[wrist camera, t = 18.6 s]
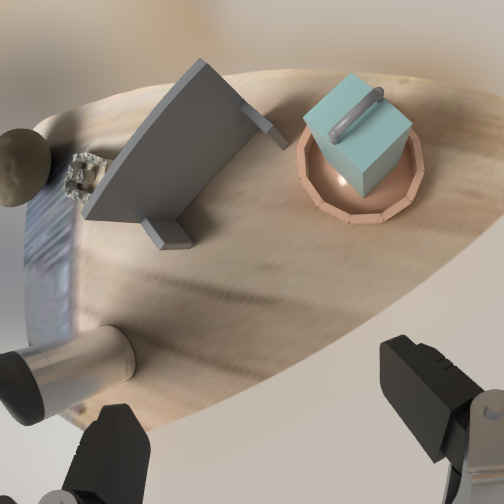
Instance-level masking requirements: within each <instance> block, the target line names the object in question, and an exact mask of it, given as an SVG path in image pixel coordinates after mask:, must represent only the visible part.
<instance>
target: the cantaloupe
mask: <svg viewBox="0 0 504 504" xmlns="http://www.w3.org/2000/svg"><path fill="white" fill-rule="evenodd" d="M50 168H51V152H50V149H49V146H48V144H47V142H46V140H45V139H44V138H43V137H42V136H41V135H40V134H39V133H37V132H35V131H33V130H30V129H13V130H10V131H8V132H6V133H4V134H2V135H1V136H0V205H2V206H5V207H16V206H19V205H22V204H24V203H27V202H28V201H30V200H31V199H33V198H34V197H35V196H36V195H37V194H38V193H39V192H40V190H41V189H42V188H43V186H44V185H45V184H46V182H47V180H48V177H49V173H50Z"/></svg>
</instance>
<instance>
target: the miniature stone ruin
mask: <svg viewBox="0 0 504 504" xmlns="http://www.w3.org/2000/svg"><path fill="white" fill-rule="evenodd" d="M113 162H114V160H111V159H103V158H100V157H97V156H96V155H93V154H90V153H81V154H74V155H73V162H72V163H71V164H69V170H68V171H67V175H66V177H65V179H64V180H65V184H64V186H63V187H62V190H61V193H62V194H64V195H66V196H68V197H71V198H73V200H76V201H78V202H80V203H83V204H84V205H85V204H86V203H87V201H88V200H89V198H90V196H91V195H92V194H91V193H89V192H88V191H83V190H79V189H78V188H77V186H78V183H81V184H87V185H91V184H92V183H93V182H94V180H95V173H94V171H90V170H86V169H82V165H83V163H89V164H94V165H100V166H104V167H105V170H104V172H105V173H106V172H107V170H108V169H109V167H110V166H111V165H112V163H113ZM104 175H105V174H102V175H101V176H100V177H99V180H98V184H99V182H100V181H101V179H102V178H103V176H104Z"/></svg>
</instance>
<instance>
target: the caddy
mask: <svg viewBox="0 0 504 504" xmlns="http://www.w3.org/2000/svg"><path fill="white" fill-rule="evenodd" d="M303 119H304V121H305V122H306V124H307V126H308V128H309V130H310V131H311V133H312V135H313V137H314V139H315V141H316V142H317V144H318V146H319V148H320V150H321V152H322V154H323V156H324V158H325V160H326V161H327V162H328V163H329V164H330V165H331V166H332V167H333V168H334V169H335V170H336V171H337V172H338V173H339V174H340V175H341V176H342V177H343V178H344V179H345V180H346V181H347V182H348V183H349V184H350V185H351V186H352V187H353V188H354V189H355V190H356V191H357V192H358V194H359V195H360V196H361V197H362V198H363V199H364V198H365V197H366V196H367V195H368V194H369V193H370V192H371V191H372V190H373V189H374V188H375V187H376V186H377V185H378V184H379V183H380V182H381V181H382V180H383V179H384V178H385V177H386V176H388V175H389V174H390V173H391V172H392V171H393V170H394V169H395V168H396V167H397V165H398V162H399V159H400V157H401V154H402V152H403V149H404V146H405V144H406V141H407V138H408V135H409V133H410V130H411V127H412V124H413V123H412V122H411V121H410V120H409V119H407V118H406V117H405V116H404V115H403V114H402V113H401V112H400V111H399V110H397V109H396V108H395V107H394V106H393V105H392V104H391V103H389V102H388V101H387V100H386V99H385V98H384V90H383V88H381V87H376V88H374V89H372V88H371V87H370V86H369V85H367V84H366V83H365V82H364V81H362V80H361V79H360V78H358V77H357V76H356V75H354V74H353V73H352V72H351V73H350V74H349V75H348V76H347V77H346V78H345V79H344V80H342V81H341V82H340V83H339V84H338V85H337V86H336V87H335V88H334V89H333V90H332V91H330V92H329V93H328V94H327V95H326V96H325V97H324V98H323V99H322V100H321V101H320V102H319V103H318V104H316V105H315V106H314V107H313V108H312V109H311V110H310V111H309V112H308V113H307V114H306V115H305V116H304V117H303Z"/></svg>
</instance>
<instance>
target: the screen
mask: <svg viewBox="0 0 504 504" xmlns="http://www.w3.org/2000/svg"><path fill="white" fill-rule="evenodd" d="M259 129H261V130H262V131H263V132H264V133H265V134H266V135H267V136H268V137H269V138H271V139H272V140H273V141H274V142H275V143H276V144H277V145H278V146H279V147H280V148H281V149H282V150H284V149H285V148H286V147H287V146H288V145H289V143H288V142H287V140H286V139H285V138H284V137H283V136H282V134H281V133H280V132H279V131H278V130H277V129H276V127H275V126H274V125H273V124H272V123H271V122H269V121H268V120H267V119H266V118H265V117H264V116H262V115H261V114H260V113H259V112H258V111H257V110H255V109H254V108H253V107H252V106H251V105H249V104H248V103H247V102H246V101H245V100H244V99H243V98H242V97H241V96H240V95H239V94H238V93H237V92H236V91H235V90H234V89H233V88H232V87H231V86H230V85H229V84H228V83H227V82H226V81H225V80H224V79H223V78H222V77H221V76H220V75H219V74H218V73H217V72H216V71H215V70H214V69H213V68H211V66H210V65H209V64H207V63H206V62H205V61H203V60H202V59H201V58H199V59H198V60H197V61H196V63H194V64H193V66H192V67H191V68H190V69H189V70H188V71H187V72H186V73H185V74H184V75H183V76H182V77H181V78H180V79H179V81H178V82H177V83H176V84H175V85H174V86H173V87H172V88H171V89H170V90H169V92H168V93H167V94H166V95H165V96H164V97H163V99H162V100H161V101H160V102H159V103H158V104H157V106H156V107H155V108H154V109H153V110H152V112H151V113H150V114H149V115H148V117H147V118H146V119H145V120H144V122H143V123H142V124H141V125H140V127H139V128H138V129H137V130H136V132H135V133H134V134H133V136H132V137H131V138H130V140H129V141H128V142H127V144H126V145H125V146H124V148H123V149H122V150H121V152H120V153H119V155H118V156H117V157H116V159H115V160H114V162H113V163H112V165H111V166H110V167H109V169H108V170H107V172H106V173H105V175H104V176H103V178H102V179H101V181H100V182H99V184H98V185H97V187H96V188H95V190H94V192H93V193H92V195H91V196H90V198H89V200H88V201H87V203H86V204H85V206H84V208H83V209H82V211H81V214H82V216H83V218H84V220H95V221H111V222H127V223H140V224H141V225H142V227H143V228H144V230H145V231H146V232H147V234H148V235H149V237H150V238H151V239H152V241H153V242H154V244H155V245H156V247H157V248H158V249H159V250H179V249H190V248H191V247H192V246H193V245H194V242H193V241H192V240H191V238H190V237H189V236H188V234H187V233H186V232H185V231H184V229H183V228H182V227H181V225H180V224H179V223H178V222H177V220H176V219H177V218H178V217H179V216H180V215H181V214H182V212H183V211H184V210H185V209H186V208H187V207H188V205H189V204H190V203H191V202H192V201H193V200H194V199H195V197H196V196H197V195H198V194H199V193H200V192H201V191H202V190H203V188H204V187H205V186H206V185H207V184H208V183H209V182H210V181H211V180H212V178H213V177H214V176H215V175H216V174H217V173H218V172H219V171H220V170H221V169H222V168H223V166H224V165H225V164H226V163H227V162H228V161H229V160H230V159H231V158H232V157H233V156H234V155H235V154H236V153H237V152H238V150H239V149H240V148H241V147H242V146H243V145H244V144H245V143H246V142H247V141H248V140H249V139H250V138H251V137H252V136H253V135H254V134H255V133H256V132H257V131H258V130H259Z"/></svg>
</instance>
